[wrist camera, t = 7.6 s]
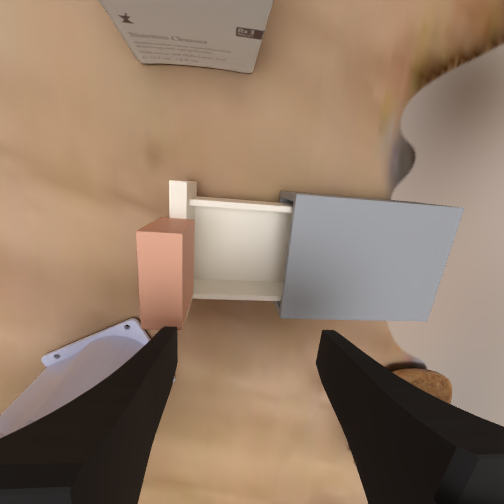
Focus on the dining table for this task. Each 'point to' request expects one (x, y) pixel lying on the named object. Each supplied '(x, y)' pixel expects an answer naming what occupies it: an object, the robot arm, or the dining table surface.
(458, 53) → the dining table surface
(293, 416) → the dining table surface
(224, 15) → the skincare box
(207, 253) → the white pull-out drawer
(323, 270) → the carton
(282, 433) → the dining table surface
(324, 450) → the dining table surface
